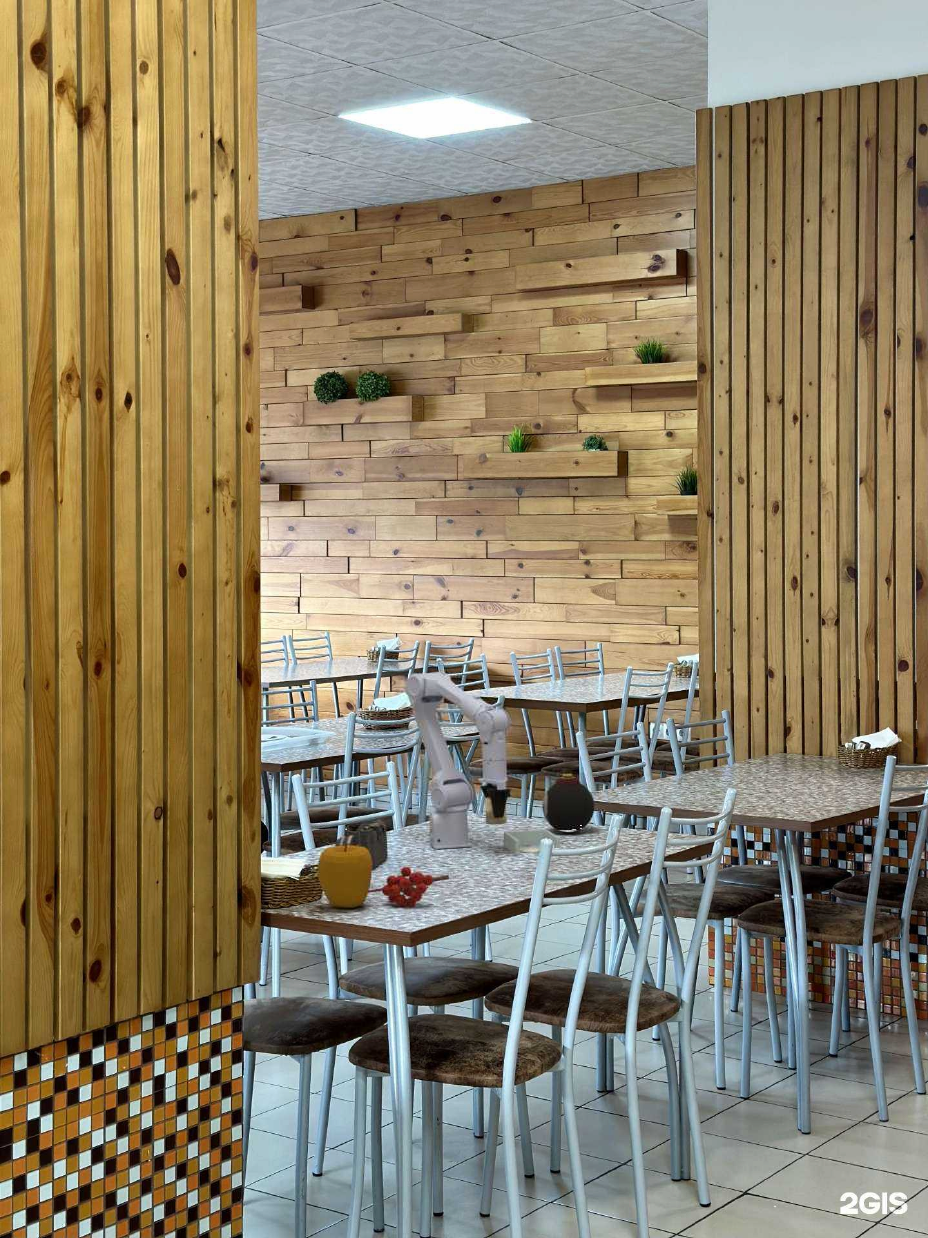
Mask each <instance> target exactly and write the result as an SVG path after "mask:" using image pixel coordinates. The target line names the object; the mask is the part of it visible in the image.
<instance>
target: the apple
mask: <svg viewBox="0 0 928 1238" xmlns="http://www.w3.org/2000/svg"><path fill="white" fill-rule="evenodd" d="M372 872H373V870H372V859H371V855H370V853H369V851H368V849H366V848H365V847H360V846H349V845H348V846H347V844H345V846H335V845H334V846H329V847H327V848H325V849H323V850H322V852H320V855H319V859H318V864H317V877H318V881H319V884H320V887H321V889H322V891H323V893H324V895H325V897H326V899H327V900H328V902H329V903H328V904H330V905H332V906H333V907H337V908H338V907H339V908H345V909H352V908H358V907H362V906H363V905H364V903H365V902H366V899H367V897H368V894H369V893H368V891H369V890H370V888H371V881H372V874H373V873H372Z"/></svg>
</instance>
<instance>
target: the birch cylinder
mask: <svg viewBox="0 0 928 1238" xmlns="http://www.w3.org/2000/svg"><path fill="white" fill-rule="evenodd" d="M484 799H485V803H484V805H485V823H486V825H493V826H495V825H496V826H497V825H504V824H507V823H508V821H507V820H508V819H507V817H508V815H507V805H506V806H505V812H504V817H503V818H494V815H493V810H492V804H491V800H490V797H487V798H485V797H484Z"/></svg>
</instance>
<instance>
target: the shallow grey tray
mask: <svg viewBox="0 0 928 1238" xmlns="http://www.w3.org/2000/svg"><path fill="white" fill-rule="evenodd" d="M545 838H547V839H551V840H552V841H553V844H554V848H560V849H561V839H560V836H558V835H556V834H554V832H553V833H552V831H551V832H550V831H549V830H548V829H544V828H543V829H532V830H531V829H529V830H517V831H503V846H504V848H505V849H507V850H509V851H510V852H511V853H512V854H514V855H515V856H520V853H521V852H524V853H539V852H538V850H539V847H540V846H535V845H541V844H540V841H541V840H542V839H545ZM521 846H525V847H521ZM520 847H521V848H520Z"/></svg>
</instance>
